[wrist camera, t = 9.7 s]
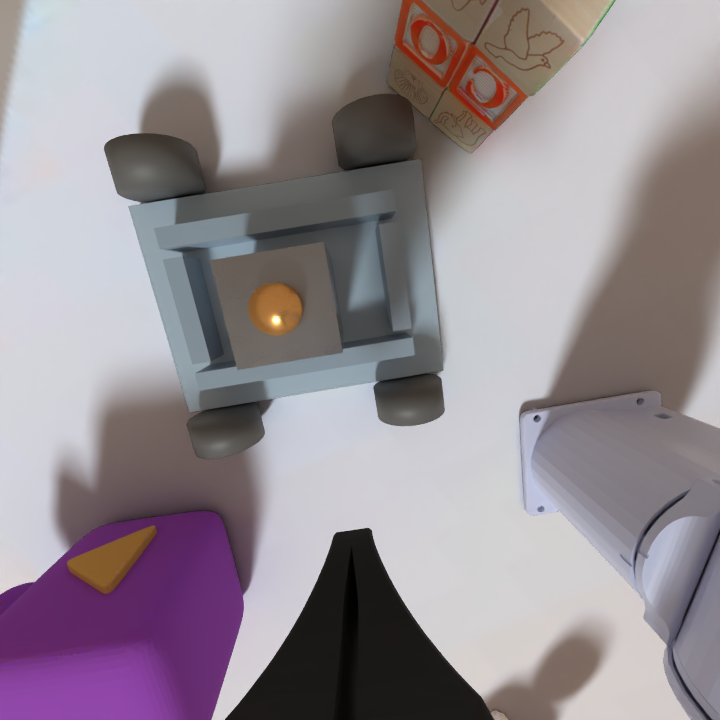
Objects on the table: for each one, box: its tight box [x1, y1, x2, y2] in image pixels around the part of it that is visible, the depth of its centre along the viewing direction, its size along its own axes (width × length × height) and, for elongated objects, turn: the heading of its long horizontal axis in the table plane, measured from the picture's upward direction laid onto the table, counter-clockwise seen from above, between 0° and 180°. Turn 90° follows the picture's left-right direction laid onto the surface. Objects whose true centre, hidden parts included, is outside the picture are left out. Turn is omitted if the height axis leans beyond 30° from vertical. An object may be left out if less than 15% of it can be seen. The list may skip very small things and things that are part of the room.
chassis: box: [104, 94, 445, 459], centre depth 18 cm, size 16×16×4 cm
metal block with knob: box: [210, 242, 344, 370], centre depth 16 cm, size 4×4×7 cm
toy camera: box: [0, 511, 244, 720], centre depth 19 cm, size 11×14×10 cm
